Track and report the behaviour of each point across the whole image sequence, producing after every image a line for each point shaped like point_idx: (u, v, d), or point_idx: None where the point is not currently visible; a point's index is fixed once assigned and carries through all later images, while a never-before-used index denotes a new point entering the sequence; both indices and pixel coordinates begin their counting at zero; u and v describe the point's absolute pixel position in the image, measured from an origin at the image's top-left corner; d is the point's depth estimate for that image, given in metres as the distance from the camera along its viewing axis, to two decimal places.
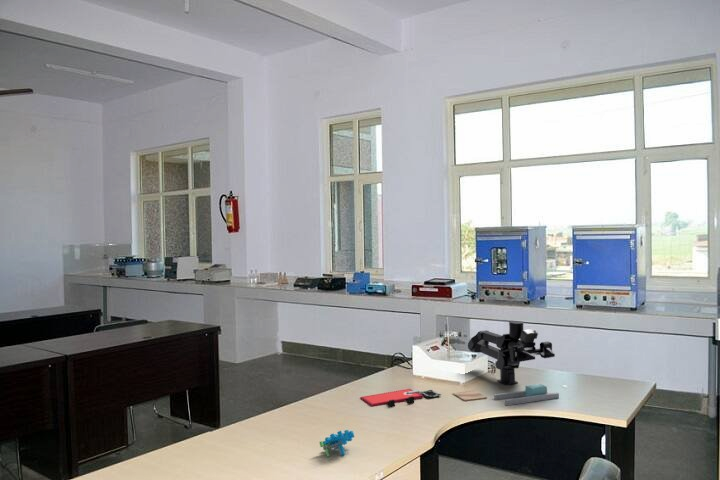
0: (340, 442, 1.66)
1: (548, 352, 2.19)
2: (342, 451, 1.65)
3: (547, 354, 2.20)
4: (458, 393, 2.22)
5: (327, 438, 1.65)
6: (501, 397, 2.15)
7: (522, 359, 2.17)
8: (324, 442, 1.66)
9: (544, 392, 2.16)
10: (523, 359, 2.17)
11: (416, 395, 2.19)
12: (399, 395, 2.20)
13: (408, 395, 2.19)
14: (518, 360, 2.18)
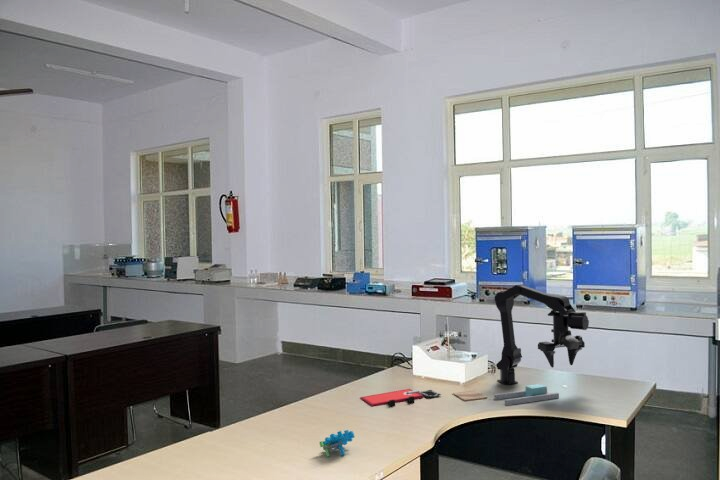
0: (340, 442, 1.66)
1: (571, 356, 2.22)
2: (342, 451, 1.65)
3: (570, 353, 2.23)
4: (458, 393, 2.22)
5: (327, 438, 1.65)
6: (501, 397, 2.15)
7: (545, 353, 2.20)
8: (324, 442, 1.66)
9: (544, 392, 2.16)
10: (545, 354, 2.20)
11: (416, 395, 2.19)
12: (399, 395, 2.20)
13: (408, 395, 2.20)
14: None
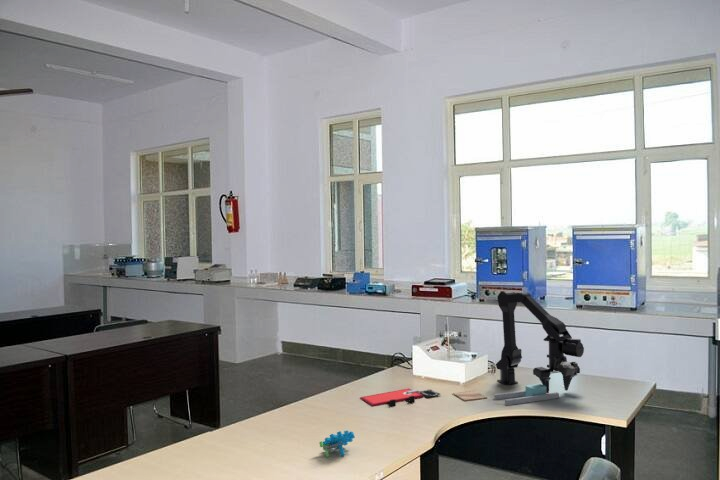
0: (340, 443, 1.66)
1: (566, 381, 2.21)
2: (342, 452, 1.64)
3: (565, 379, 2.22)
4: (458, 393, 2.22)
5: (327, 438, 1.64)
6: (501, 397, 2.15)
7: (540, 379, 2.19)
8: (324, 442, 1.66)
9: (544, 392, 2.16)
10: (541, 380, 2.19)
11: (416, 395, 2.20)
12: (399, 395, 2.20)
13: (408, 395, 2.20)
14: None
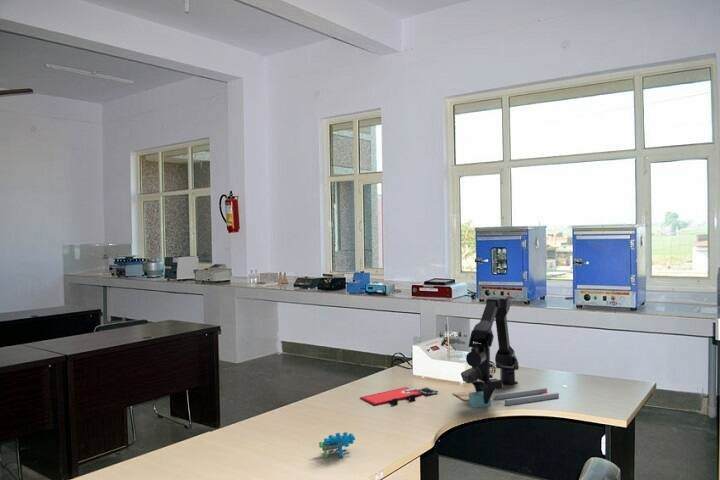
0: (339, 444, 1.65)
1: None
2: (340, 453, 1.63)
3: None
4: (458, 393, 2.22)
5: (326, 439, 1.64)
6: (501, 397, 2.15)
7: None
8: (323, 443, 1.65)
9: None
10: None
11: (415, 393, 2.22)
12: (398, 394, 2.22)
13: (407, 393, 2.22)
14: None
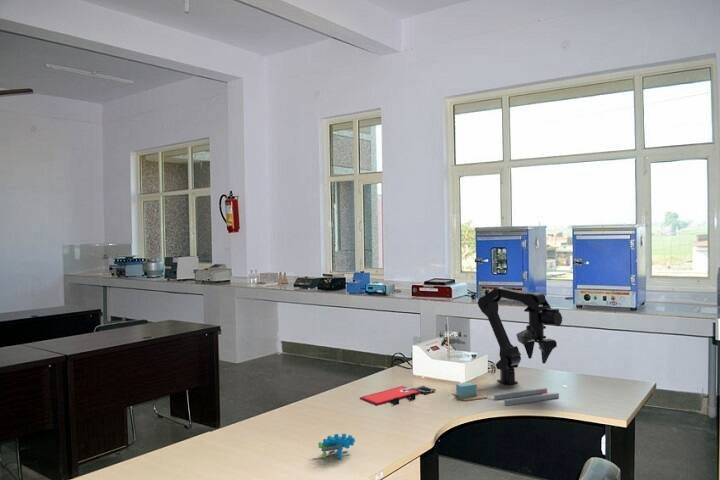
0: (338, 445, 1.64)
1: None
2: (339, 455, 1.62)
3: None
4: None
5: (324, 440, 1.63)
6: (501, 397, 2.15)
7: None
8: (323, 443, 1.65)
9: (474, 390, 2.18)
10: None
11: (414, 391, 2.24)
12: (397, 393, 2.23)
13: (406, 392, 2.24)
14: None
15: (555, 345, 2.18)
